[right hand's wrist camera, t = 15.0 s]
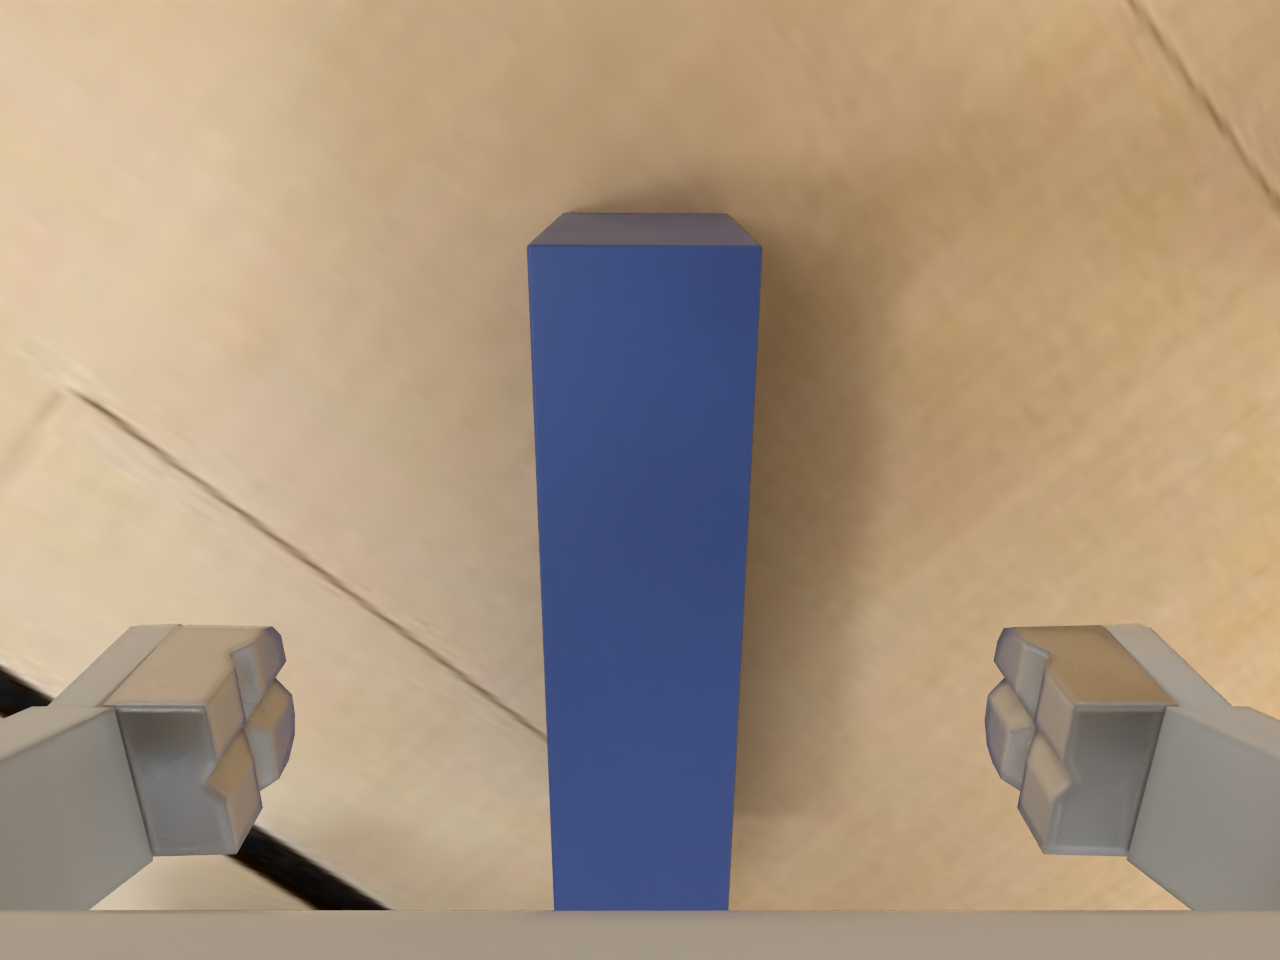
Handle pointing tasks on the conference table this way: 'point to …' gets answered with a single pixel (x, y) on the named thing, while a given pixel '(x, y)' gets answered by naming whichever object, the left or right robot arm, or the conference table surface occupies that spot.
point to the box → (643, 546)
